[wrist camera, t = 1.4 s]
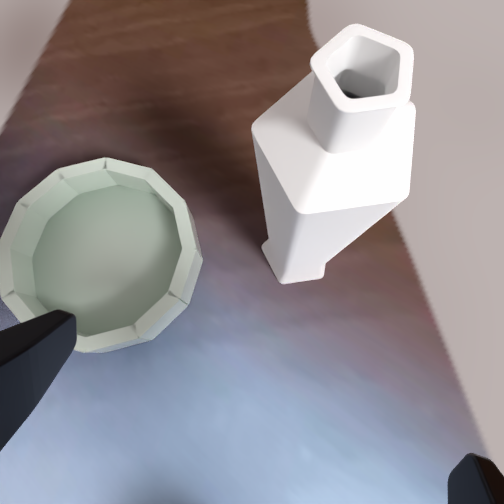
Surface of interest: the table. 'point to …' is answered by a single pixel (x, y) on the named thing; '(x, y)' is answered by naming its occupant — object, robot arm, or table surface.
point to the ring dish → (101, 253)
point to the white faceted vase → (335, 151)
